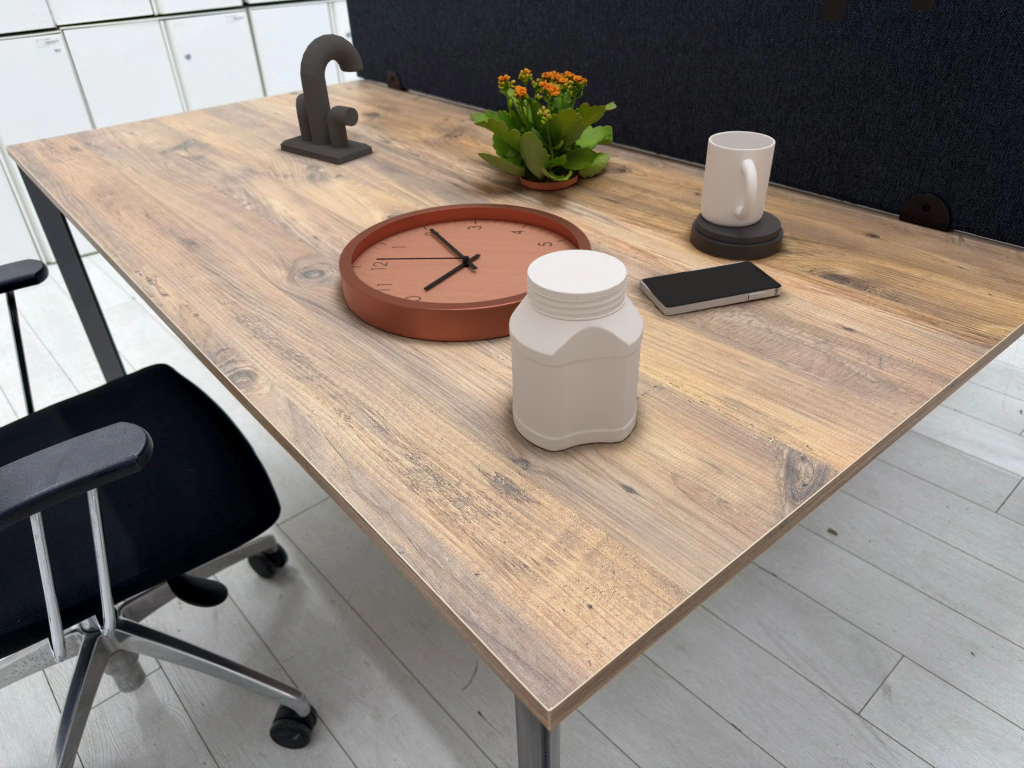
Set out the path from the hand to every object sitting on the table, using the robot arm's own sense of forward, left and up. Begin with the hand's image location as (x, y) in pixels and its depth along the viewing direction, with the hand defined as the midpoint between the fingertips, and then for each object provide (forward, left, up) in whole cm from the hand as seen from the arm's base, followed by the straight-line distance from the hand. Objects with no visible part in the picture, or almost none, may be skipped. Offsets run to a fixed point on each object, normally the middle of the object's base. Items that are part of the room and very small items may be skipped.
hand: (877, 15), depth 88 cm
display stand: (+14, +7, -27) cm, 31 cm away
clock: (+49, +20, -27) cm, 59 cm away
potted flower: (+42, -16, -27) cm, 52 cm away
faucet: (+84, -36, -27) cm, 95 cm away
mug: (+15, +7, -24) cm, 29 cm away
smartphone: (+19, +22, -27) cm, 40 cm away
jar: (+34, +48, -27) cm, 65 cm away
